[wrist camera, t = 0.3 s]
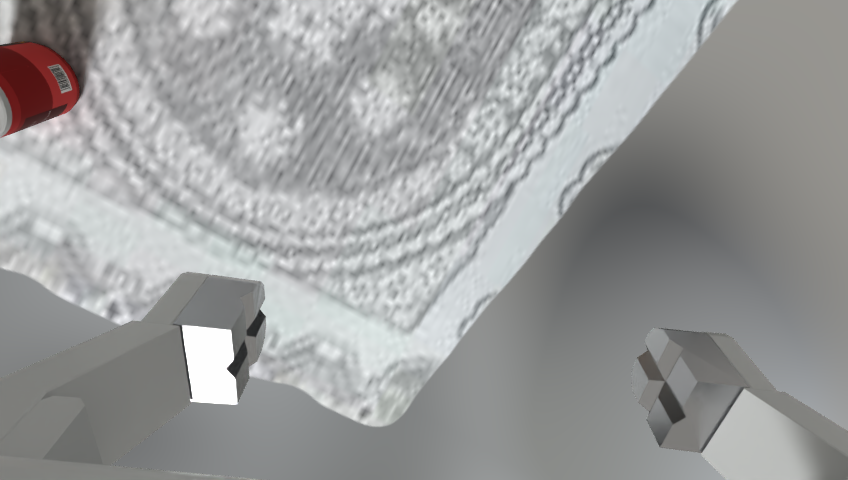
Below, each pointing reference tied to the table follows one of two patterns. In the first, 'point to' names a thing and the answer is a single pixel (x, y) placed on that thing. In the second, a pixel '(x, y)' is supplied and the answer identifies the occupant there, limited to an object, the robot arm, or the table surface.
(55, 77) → the canned food
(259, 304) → the robot arm
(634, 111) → the table surface
